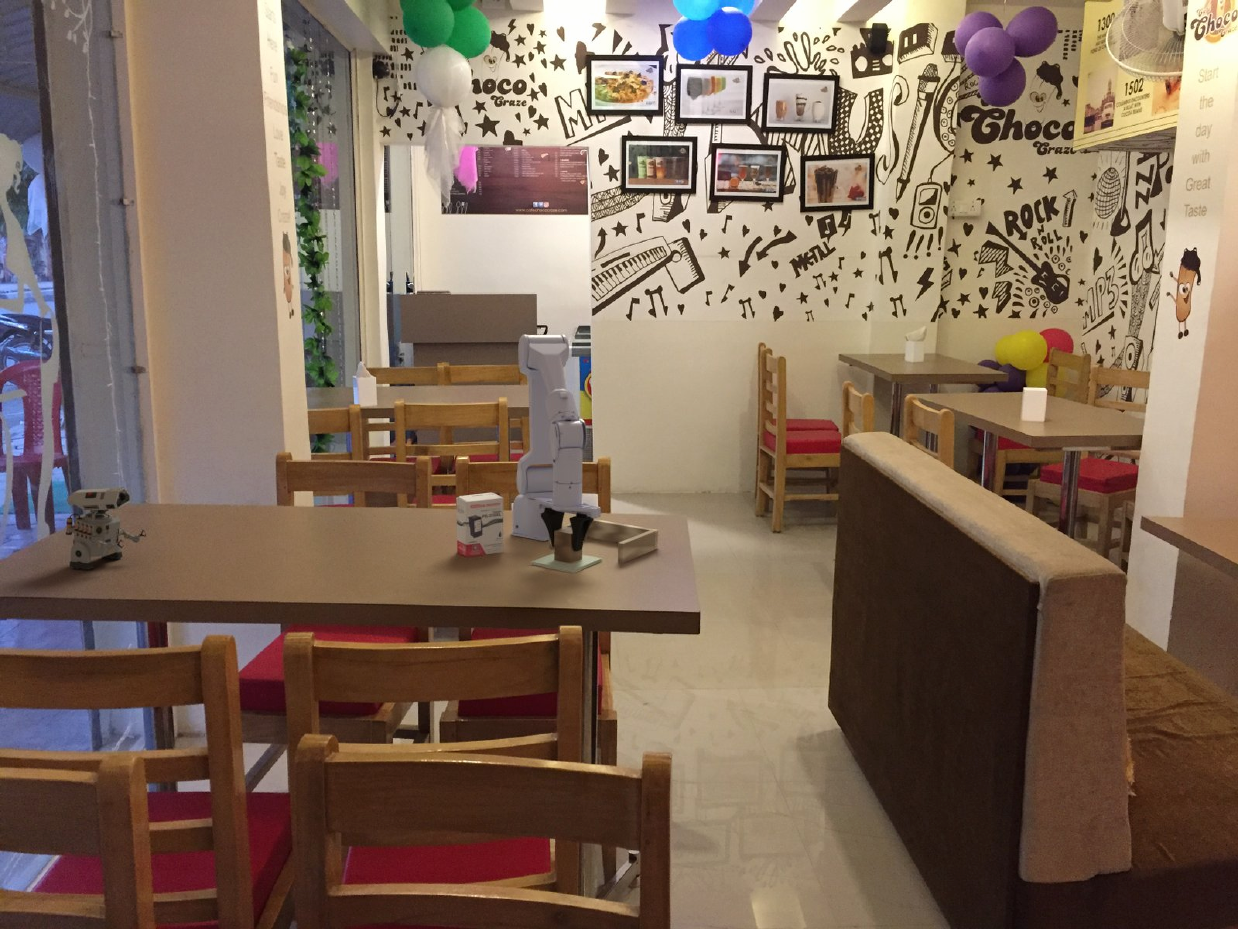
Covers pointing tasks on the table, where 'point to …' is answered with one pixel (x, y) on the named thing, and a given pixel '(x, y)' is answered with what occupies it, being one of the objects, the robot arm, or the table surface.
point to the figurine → (97, 526)
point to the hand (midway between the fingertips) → (567, 548)
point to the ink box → (479, 524)
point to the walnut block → (565, 546)
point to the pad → (567, 567)
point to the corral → (623, 538)
